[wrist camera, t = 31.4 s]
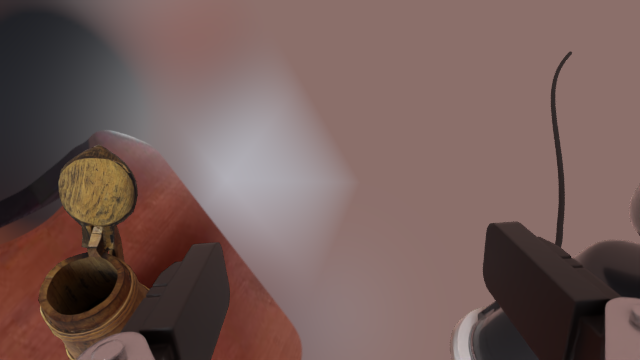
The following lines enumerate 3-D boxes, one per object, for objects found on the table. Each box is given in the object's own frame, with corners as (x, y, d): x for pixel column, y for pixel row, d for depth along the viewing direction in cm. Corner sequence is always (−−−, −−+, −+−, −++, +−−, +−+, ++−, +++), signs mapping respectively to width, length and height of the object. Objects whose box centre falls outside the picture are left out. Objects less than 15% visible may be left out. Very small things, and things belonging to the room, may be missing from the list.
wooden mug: (184, 253, 43) (158, 148, 30) (153, 379, 34) (97, 311, 21) (104, 249, 42) (40, 136, 28) (51, 379, 33) (-77, 305, 20)
